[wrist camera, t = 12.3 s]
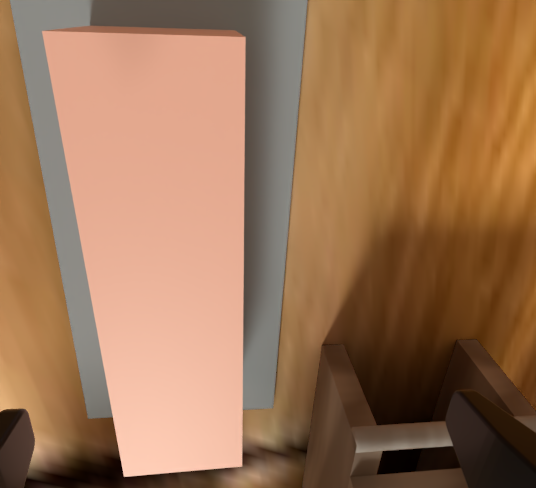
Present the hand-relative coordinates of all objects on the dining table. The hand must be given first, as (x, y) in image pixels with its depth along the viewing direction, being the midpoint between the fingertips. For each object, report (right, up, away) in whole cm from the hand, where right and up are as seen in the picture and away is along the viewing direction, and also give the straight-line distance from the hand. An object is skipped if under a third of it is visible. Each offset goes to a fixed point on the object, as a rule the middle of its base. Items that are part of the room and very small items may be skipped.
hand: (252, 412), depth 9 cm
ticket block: (-4, +4, +10) cm, 11 cm away
